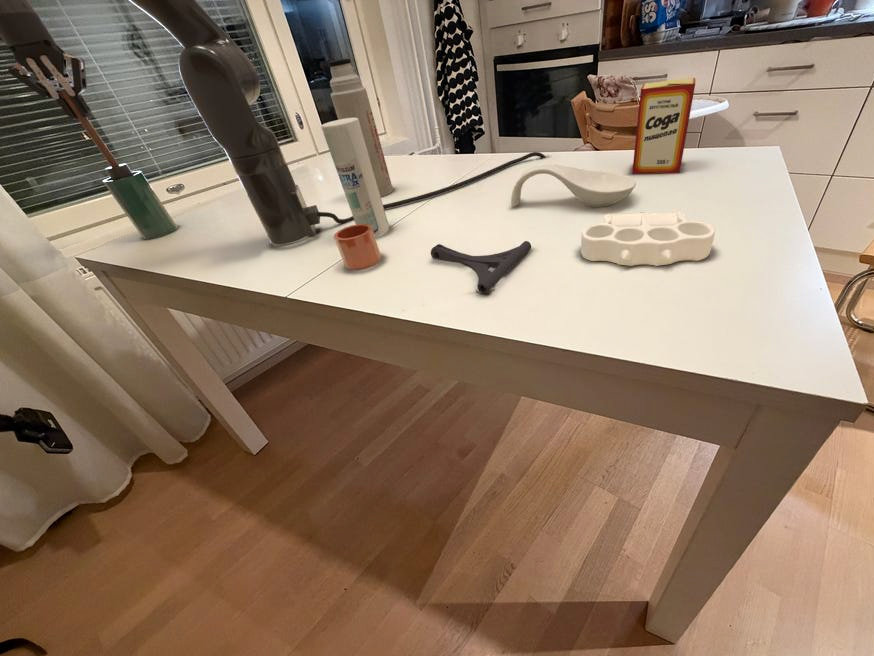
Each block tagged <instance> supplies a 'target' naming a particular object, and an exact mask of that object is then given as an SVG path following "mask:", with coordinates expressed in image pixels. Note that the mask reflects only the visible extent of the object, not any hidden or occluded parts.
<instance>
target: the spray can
mask: <svg viewBox="0 0 874 656" xmlns="http://www.w3.org/2000/svg"><path fill="white" fill-rule="evenodd" d="M320 127H321V130H322V133H323V136H324V139H325V142H326V145H327V147H328V150H329V153H330V156H331V159H332V161H333V164H334V167H335V170H336V173H337V176H338V178H339V182H340V184H341V187H342V191H343V192H344V196H345V199H346V201H347V204H348V207H349V209H350V212H351V214H352V216H353V218H354V220H353V221H354V223H355V224H354V225H356V224H368V225H371V226H372V229H373V232H374V235H375V237H376V236H379V235H382V234H384V233H386V232H388V230H389V229H390V225H389V222H388V218H387V214H386V211H385V209H384V207H383V205H384V203H383V200H382V197H380V193H379V190H378V186H377V183H376V179H375V176H374V172H373V169H372V165H371V162H370V158H369V154H368V151H367V147H366V144H365V140H364V137H363V133H362V130H361V126H360V123H359V120H358V118H346V119H340V120H338V119H336V120H332V121H328V122H326V123H325V122H324V123H323V124H321V126H320Z"/></svg>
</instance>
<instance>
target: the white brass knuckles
mask: <svg viewBox="0 0 874 656" xmlns="http://www.w3.org/2000/svg"><path fill="white" fill-rule="evenodd" d="M715 235H716V230H715V228H714V226H712V225H711V224H709V223H707V222H702V221H698V220H689V219H687V218H686V217H685V213H684V212H682V211H681V210H678V211H675V212H657V213H656V212H654V213H647V212H640V213H626V214H625V213H623V214H612V213H607V214H605V215H604V222H602V223H596V224H593V225H590V226H587V227H586V228H584V229H583V230H582V232H581V239H580V241H581V242H580V253H581V254H580V255H581V256H582V257H583V258H584V259H586V260H587V261H589V262H600V261H601V262H611V263H614V264H616V265H622V266H628V267H632V266H638V265H649V266H656V267H657V266H659V267H660V266H666V265H671V264H675V263H677V262H681V261H695V262H697V261H703V260H704V259H706V258H707V257H708V256H709V255H710V254H711V250H712V247H713V242H714V239H715Z"/></svg>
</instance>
